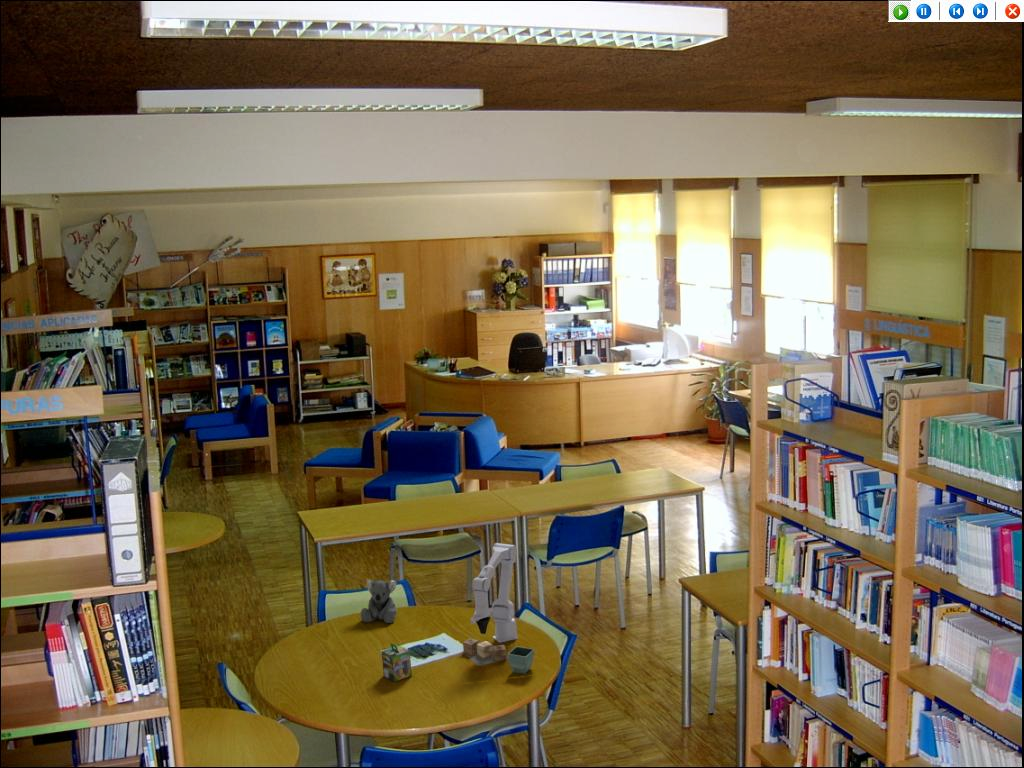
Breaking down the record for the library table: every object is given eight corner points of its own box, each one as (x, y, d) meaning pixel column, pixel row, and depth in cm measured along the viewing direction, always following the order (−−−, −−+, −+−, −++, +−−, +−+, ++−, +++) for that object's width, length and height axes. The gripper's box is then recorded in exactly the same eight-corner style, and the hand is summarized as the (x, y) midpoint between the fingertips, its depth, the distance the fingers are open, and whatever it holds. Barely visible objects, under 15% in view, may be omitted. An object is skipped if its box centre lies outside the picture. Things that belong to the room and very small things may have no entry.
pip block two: (471, 648, 490) (470, 638, 489) (479, 651, 486) (478, 640, 486) (463, 652, 486) (463, 641, 485) (471, 655, 483) (471, 644, 482)
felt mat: (492, 645, 493) (492, 644, 493) (509, 659, 477) (509, 658, 477) (462, 652, 487) (462, 651, 487) (478, 667, 471) (478, 666, 471)
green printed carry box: (412, 676, 465) (410, 643, 462) (394, 682, 459) (392, 649, 457) (400, 669, 472) (398, 637, 469) (382, 676, 466) (380, 643, 464)
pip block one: (504, 655, 481) (504, 644, 480) (506, 660, 476) (505, 649, 475) (493, 656, 480) (492, 645, 479) (495, 661, 475) (494, 650, 474)
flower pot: (535, 668, 467) (534, 648, 465) (527, 676, 459) (526, 656, 457) (516, 665, 470) (515, 646, 469) (508, 674, 463) (507, 654, 461)
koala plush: (359, 623, 527) (356, 585, 523) (369, 610, 544) (367, 572, 541) (393, 624, 524) (391, 585, 520) (403, 610, 541) (401, 572, 538)
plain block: (486, 651, 486) (486, 640, 485) (492, 655, 482) (492, 644, 481) (477, 654, 483) (476, 643, 482) (483, 658, 479) (483, 647, 478)
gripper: (483, 597, 488) (485, 626, 490) (464, 608, 476) (466, 637, 479) (496, 599, 484) (498, 628, 486) (477, 610, 472) (479, 640, 475)
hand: (483, 633), depth 482 cm, fingers closed
